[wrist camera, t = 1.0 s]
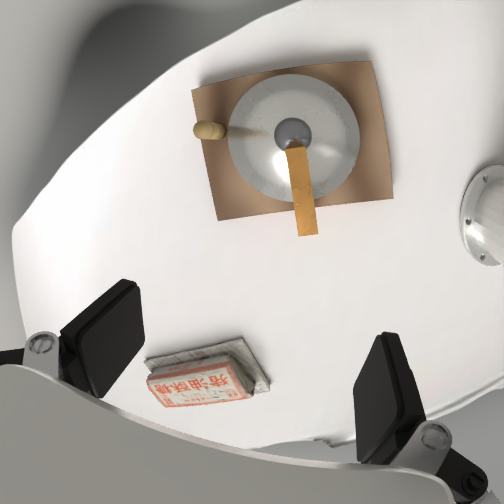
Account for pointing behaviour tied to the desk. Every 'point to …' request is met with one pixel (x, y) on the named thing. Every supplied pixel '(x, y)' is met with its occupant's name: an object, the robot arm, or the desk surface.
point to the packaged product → (206, 375)
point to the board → (256, 203)
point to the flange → (294, 142)
